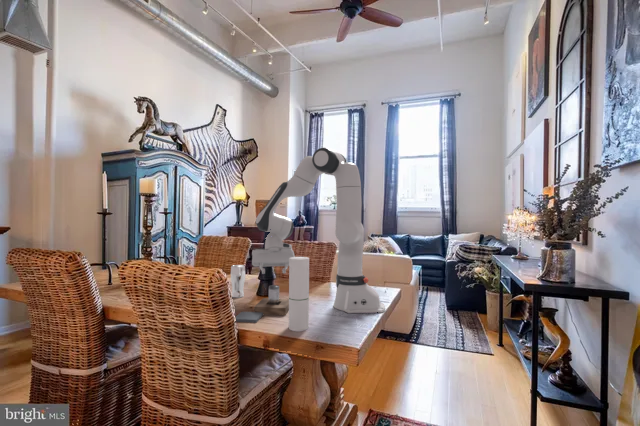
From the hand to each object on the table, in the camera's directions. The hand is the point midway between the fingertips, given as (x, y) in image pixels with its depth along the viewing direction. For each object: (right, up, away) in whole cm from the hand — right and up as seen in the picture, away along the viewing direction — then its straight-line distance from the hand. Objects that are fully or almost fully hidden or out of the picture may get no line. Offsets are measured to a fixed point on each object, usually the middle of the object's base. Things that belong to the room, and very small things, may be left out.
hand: (273, 272), depth 142 cm
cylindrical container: (+14, -14, -31) cm, 36 cm away
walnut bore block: (+2, -14, -10) cm, 17 cm away
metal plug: (+2, -14, -10) cm, 17 cm away
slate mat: (-7, -14, -21) cm, 26 cm away
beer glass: (-19, -14, +11) cm, 26 cm away
